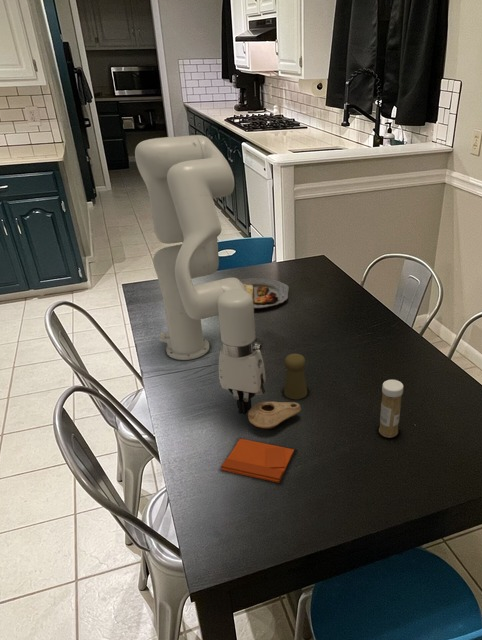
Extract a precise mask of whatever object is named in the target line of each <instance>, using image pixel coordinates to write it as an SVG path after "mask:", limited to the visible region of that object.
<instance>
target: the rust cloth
mask: <svg viewBox="0 0 482 640" xmlns="http://www.w3.org/2000/svg"><path fill="white" fill-rule="evenodd" d="M294 453H295V449H294V448H289V447H284V446H280V445H274V444H269V443H264V442H259V441H254V440H249V439H244V438H239V439H238V441H237V442H236V444H235V445H234V447H233V449H232V451H231V452H230V454H229V455H228V457H227V458H225V459H224V461H223V463H222V464H221V468H220V469H221V471H222V472H223V471H224V472H228V473H232V474H235V475H236V474H237V475H241V476H246V477H249V478H255V479H259V480H264V481H269V482H273V483H277V484H280V483H281V479H282V478H283V476H284V474H285V472H286V470H287V467H288V466H289V463H290V461H291V459H292V457H293V454H294Z"/></svg>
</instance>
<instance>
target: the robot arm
mask: <svg viewBox="0 0 482 640" xmlns="http://www.w3.org/2000/svg"><path fill="white" fill-rule="evenodd" d="M134 155H135V156H134V157H135V163H136V167H137V170H138V172H139V174H140V176H141V178H142V180H143V182H144V184H145V187H146V189H147V191H148V192H147V193H148V198H149V204H150V213H151V219H152V225H153V230H154V234H155V237H156V238H157V240H158V241H159V242H160V243H162V244H168V245H169V244H170V246H166V247H163V248H160V249H159V250H157V251H156V252H155V253H154V255H153V258H152V264H153V268H154V271H155V274H156V277H157V281H158V283H159V287H160V291H161V295H162V296H161V297H162V301H163V306H164V307H163V308H164V311H165V312H164V313H165V319H166V325H167V330H168V332H166V331H161V332H160V334H159V342H160V343H166V344H167V345H166V348H165V351H166V354H167V356H168V357H170V358H172V359H174V360H179V361H189V360H195V359H198V358H200V357H202V356H205V354H207V353H208V352H209V351H210V348H211V347H210V346H211V345H210V342H209V341H208V340H207V339H206V338H205V337H204V333H203V327H202V326H203V325H202V320H205V319H209V318H213V317H217V316H218V323H219V332H220V340H221V348H220V350H219V351H220V352H219V357H218V378H219V384H220V387H221V389H223V390H226V391H229V393H230V394H231V395H233V398H234V400H235V401H236V407H237V409H238V414H240V415H243V416H246V415H247V414H248V412H249V410H250V409H251V408H252V398H254V397H263V396H264V394H265V393H266V390H265V387H264V385H266V383H267V377H266V376H267V374H266V369H265V363H264V358H263V355H262V352H261V350H262V347H263V344H261V343H259V342H258V340H257V337H256V323H255V309H254V306H253V298H252V296H251V295H250V294H249V293H248V292H246V290H245V287H244V285H243V284H242V283H241V282H240V280H241V279H239V278H237V277H226V278H222V279H221V278H220V279H217V280H212V281H207V282H203V283H198V284H194V283H193V281H192V280H193V279H197V278H201V277H206V276H210V275H213V274H215V273H216V272H217V271H218V269H219V266H220V258H219V256H220V255H219V243H218V237H219V236H220V235H221V233H222V224H221V222H220V219H219V215H218V212H217V208H216V204H215V202H214V199H217V198H225V197H228V196H230V195H232V194H233V192H234V189H235V176H234V173H233V171H232V168H231V166H230V164H229V162H228V160H227V159H226V157H225V156H224V155H223V153H222V152H221V151H220V150H219V148H218V147H217V146H216V145H215V144H214V143H213V141H211V139H210V138H208V137H207V136H206V135H205V136H204V135H201V134H192V135H182V136H181V135H179V136H165V137H155V138H149V139H145V140H142V141H140V142H139V143H138V144H137V145H136V146H135V149H134ZM177 243H179V244H177ZM180 243H181V244H180ZM171 244H173V245H171ZM174 244H175V245H174Z"/></svg>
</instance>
